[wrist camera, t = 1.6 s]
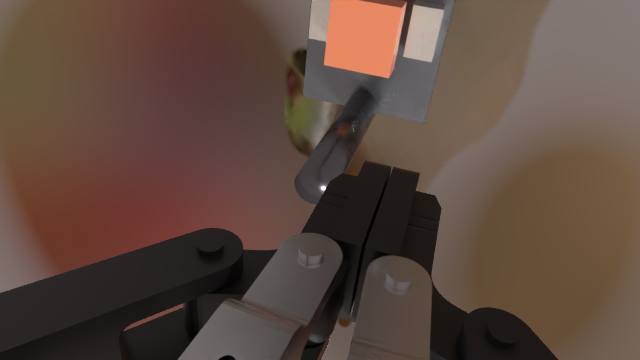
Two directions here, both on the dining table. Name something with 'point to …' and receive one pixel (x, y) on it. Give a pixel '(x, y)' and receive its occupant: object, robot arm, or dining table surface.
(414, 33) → the twin post stand
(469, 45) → the dining table surface
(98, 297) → the robot arm
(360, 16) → the button
